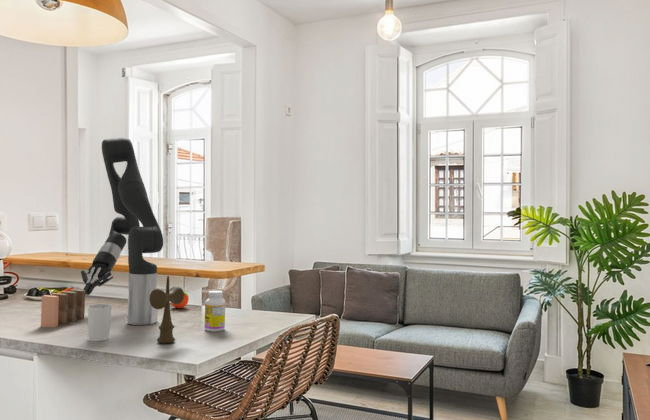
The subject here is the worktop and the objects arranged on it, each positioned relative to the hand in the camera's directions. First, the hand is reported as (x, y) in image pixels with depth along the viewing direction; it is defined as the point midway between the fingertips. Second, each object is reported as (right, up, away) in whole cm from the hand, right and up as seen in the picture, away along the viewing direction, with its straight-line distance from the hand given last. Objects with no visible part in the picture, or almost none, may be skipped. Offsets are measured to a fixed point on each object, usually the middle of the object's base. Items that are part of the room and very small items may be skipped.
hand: (85, 293), depth 197 cm
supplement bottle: (+50, -10, -15) cm, 53 cm away
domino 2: (-3, -8, -14) cm, 16 cm away
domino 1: (-4, -8, -18) cm, 20 cm away
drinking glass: (+18, -9, -32) cm, 38 cm away
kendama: (+39, -10, -34) cm, 52 cm away
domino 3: (-2, -8, -9) cm, 12 cm away
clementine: (+29, -9, +20) cm, 36 cm away
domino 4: (-1, -8, -5) cm, 9 cm away
